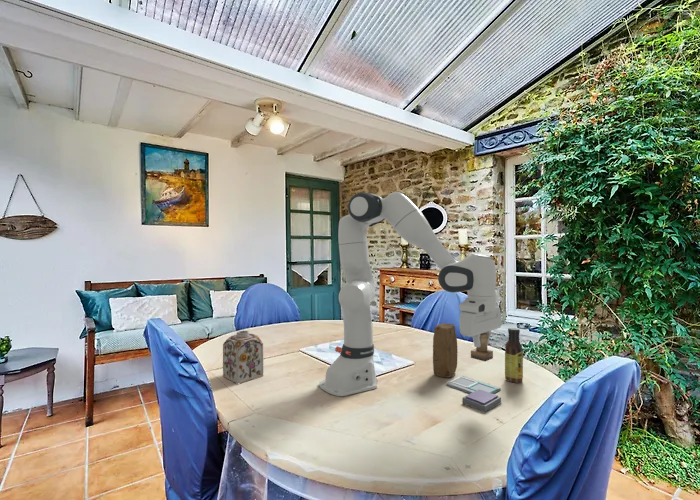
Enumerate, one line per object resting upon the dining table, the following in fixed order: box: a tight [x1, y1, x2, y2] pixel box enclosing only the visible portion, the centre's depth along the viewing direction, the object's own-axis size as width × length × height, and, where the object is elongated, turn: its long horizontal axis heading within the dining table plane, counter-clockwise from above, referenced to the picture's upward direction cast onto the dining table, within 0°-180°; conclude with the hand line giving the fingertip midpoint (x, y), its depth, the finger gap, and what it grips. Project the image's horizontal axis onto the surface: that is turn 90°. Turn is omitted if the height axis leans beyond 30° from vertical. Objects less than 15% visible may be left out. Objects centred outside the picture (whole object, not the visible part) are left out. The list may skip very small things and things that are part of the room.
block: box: [432, 322, 458, 378], centre depth 139 cm, size 11×8×20 cm
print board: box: [446, 375, 501, 394], centre depth 126 cm, size 11×15×1 cm
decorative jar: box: [222, 330, 264, 385], centre depth 137 cm, size 12×12×18 cm
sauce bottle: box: [504, 327, 524, 384], centre depth 132 cm, size 6×6×20 cm
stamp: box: [470, 333, 494, 362], centre depth 113 cm, size 5×5×8 cm
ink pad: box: [462, 389, 502, 413], centre depth 114 cm, size 10×8×2 cm
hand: (481, 345), depth 113 cm, fingers closed on stamp, 3 cm apart
